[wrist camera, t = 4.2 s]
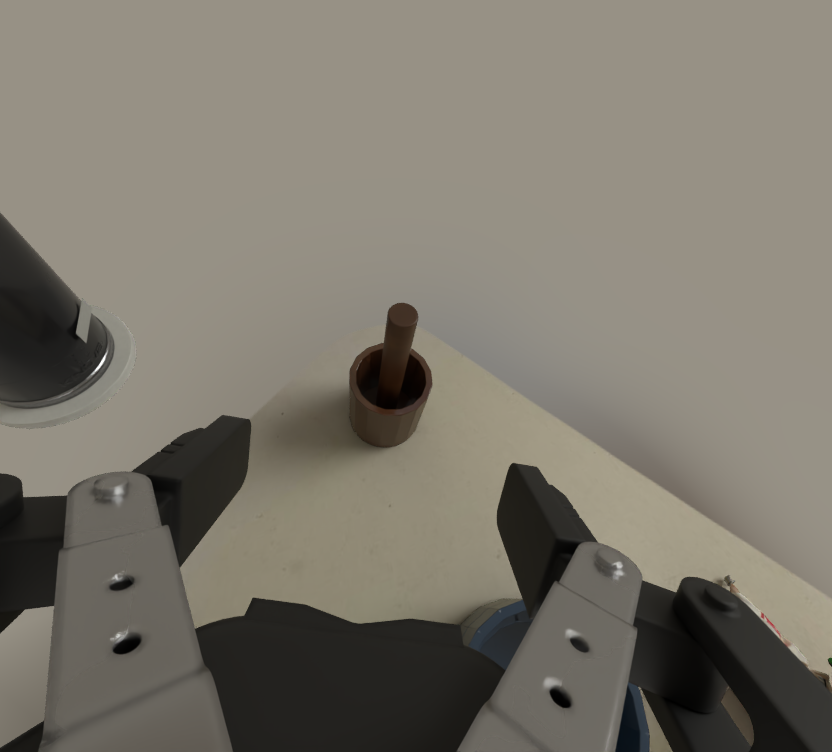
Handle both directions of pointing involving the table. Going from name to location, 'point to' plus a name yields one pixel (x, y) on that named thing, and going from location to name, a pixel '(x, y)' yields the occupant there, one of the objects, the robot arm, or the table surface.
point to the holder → (387, 423)
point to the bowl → (499, 640)
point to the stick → (395, 353)
